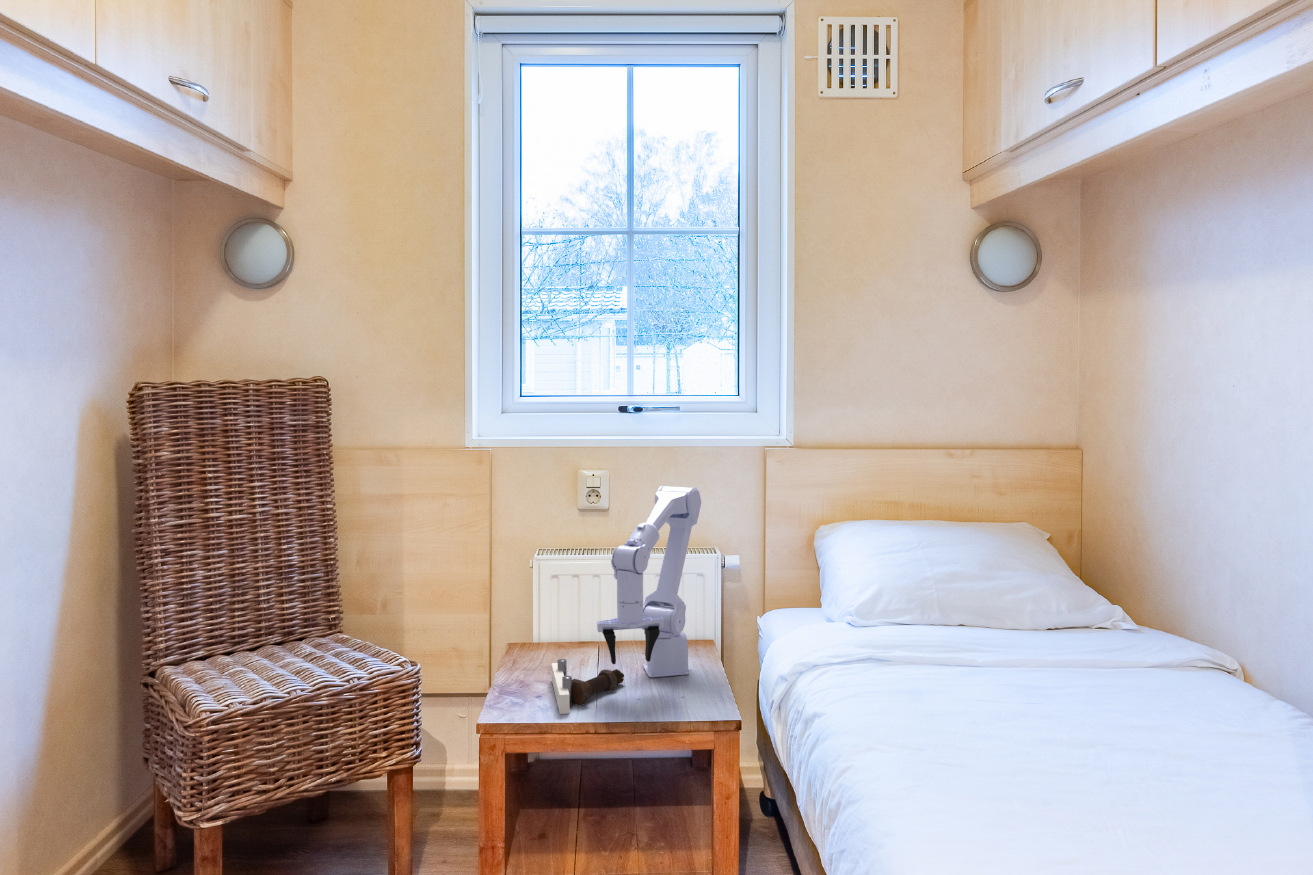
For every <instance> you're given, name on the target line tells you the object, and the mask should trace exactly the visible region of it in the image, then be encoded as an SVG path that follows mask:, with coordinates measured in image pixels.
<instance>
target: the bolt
mask: <svg viewBox="0 0 1313 875" xmlns="http://www.w3.org/2000/svg"><path fill="white" fill-rule="evenodd" d="M624 681H625V673H623V672H622V671H620V670H619V669H617V668H616V669H614V670H610V669H601V670H600V671H599V673H598V675H597V676H595V677H593V678H590V679H587V680H581V679H577V678H572V705H574V706H575V705H576V706H579V707H580V706H581V707H582V706H584V705H586V703H587V702H588V701H587V700H588V699H589V697H590V696H593V695H595V694H599V693H600V692H602V691H603V692H612V691H614V690H615V688H616V686H618V685H619V684H622V683H623V682H624Z"/></svg>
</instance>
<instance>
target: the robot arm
mask: <svg viewBox="0 0 1313 875" xmlns="http://www.w3.org/2000/svg"><path fill="white" fill-rule="evenodd" d="M701 507H702V499H701V492H700V491H699V490H698V488H697V487H696V486H692V487H685V486H684V487H683V486H667V485H660V486H659V487H658V489H657V490H656V492H655V494H654V506H653V508H652V510H651V511H650V513H649V515H648V516H647V519H646V521H645V522H640V523H638V524H637V526H636V527H635V528H634V530H633V531H632V532H631V534H630V536H629V537H628V538H627V540H626V541H625V543H624V545H623V544H621V545H618V546H617V547H616V548H615V549H614V551H613V552H612V555H611V556H612V557H611V559H610V562H611V563H610V564H611V568H612V570H613V573H614V575H613V576H614V579H615V580H616V606H617V607H616V608H617V610H616V611H617V613H616V615H617V617H616V618H610V619H604V620H597V621H596V630H597V632H598V633H602V635H603V637H604V640H605V642H606V644H607V645H606V646H607V647H608V651H609V655H610V662H611V665H616V663H617V658H616V656H617V655H616V639H617V638H616V633H615V631H623V630H636V629H642V630H643V632H644V633H643V634H644V635H645V636H644V637H645V651H644V652H645V653H644V656H645V658H644V659H645V661H646V664H644V663H643V665H642V667H643V669H644V671H645V673H646V674H647V676H648V677H649V678H660V677H672V676H674V677H675V676H684V675H689V674H690V671H689V643H688V638H687V635H686V633H685V632H683V630H684V629H685V626H686V609H687V604H686V603H685V602H684V601H683V599H682V598H681V597H680V596H679V595H678V594H679V589H680V584H681V580H682V576H683V569H684V566H685V560H686V556H687V553H688V552H687V551H688V547H689V542H690V537H691V533H692V528H693V526H695V525H697V523H698V519H699V516H700V510H701ZM665 524H667V525H668V526H669V527H670V528H669V529H670V530H669V533H668V538H667V543H666V546H665V551H664V556H663V560H662V565H661V568H660V572H659V573H660V574H659V577H658V582H657V586H656V590H654V591H653V592H652V593H650V594H648V595H647V596H646V597H645V599H644V572H645V571H646V570H647V568H648V565H649V560H650V559H651V558H650V557H651V552H652V550H653V548H654V547H655V546H656V544H657V542H658V541H659V539H660V532H659V531H660V530H661V528H662V527H663V526H664V525H665Z"/></svg>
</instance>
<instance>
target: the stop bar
mask: <svg viewBox="0 0 1313 875" xmlns="http://www.w3.org/2000/svg"><path fill="white" fill-rule="evenodd" d="M567 670H568V668H567V659H565V658H561V659H560V658H559V659H557V662H552V663H551V681H552V682H551V683H552V688H553V690H554V695H555V699H556V703H557V708H558V713H559V715H565V714H567V715H568V714H570V713H571V712H570V711H571V710H570V709H571V708H570V707H572V706H573V704H572V679H573V676H571V675H568V674H567V673H568V671H567Z"/></svg>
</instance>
